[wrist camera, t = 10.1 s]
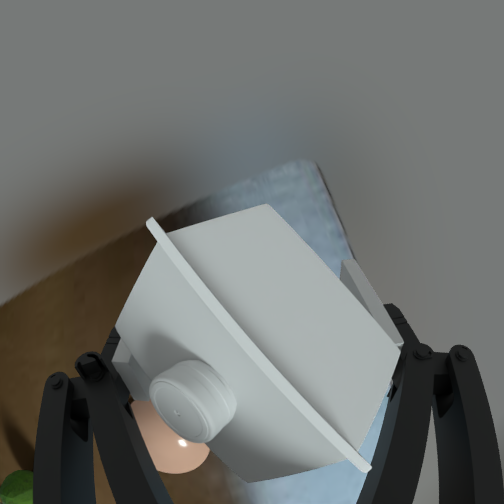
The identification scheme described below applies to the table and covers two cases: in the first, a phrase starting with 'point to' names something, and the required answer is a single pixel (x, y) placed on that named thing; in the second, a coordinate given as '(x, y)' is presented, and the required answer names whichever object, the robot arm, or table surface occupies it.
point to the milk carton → (256, 346)
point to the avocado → (17, 488)
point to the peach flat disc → (166, 442)
